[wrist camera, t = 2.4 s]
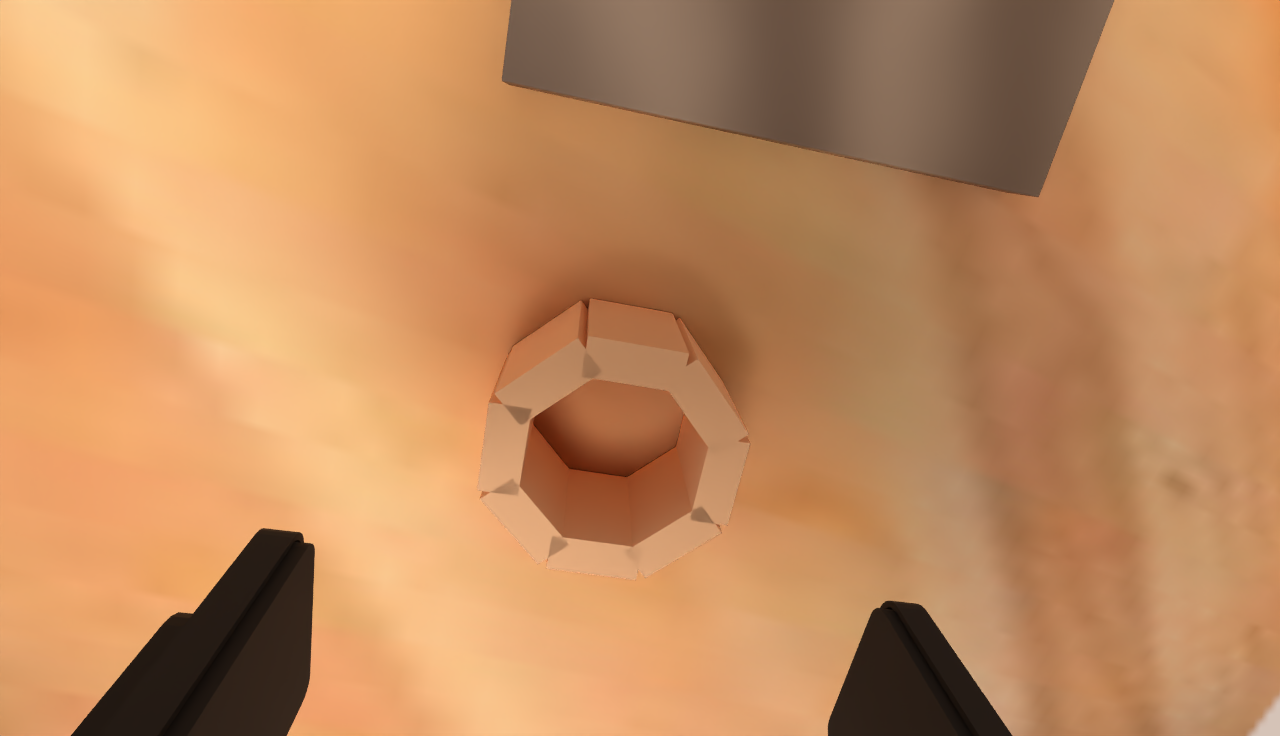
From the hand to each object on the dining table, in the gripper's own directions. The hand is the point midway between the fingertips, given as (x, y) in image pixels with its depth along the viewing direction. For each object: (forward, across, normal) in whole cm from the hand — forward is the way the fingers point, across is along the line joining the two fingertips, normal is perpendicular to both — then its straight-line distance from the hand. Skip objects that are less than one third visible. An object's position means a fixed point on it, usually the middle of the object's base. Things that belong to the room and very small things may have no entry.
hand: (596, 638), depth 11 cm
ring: (+11, -1, +1) cm, 11 cm away
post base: (+11, -4, -16) cm, 20 cm away
